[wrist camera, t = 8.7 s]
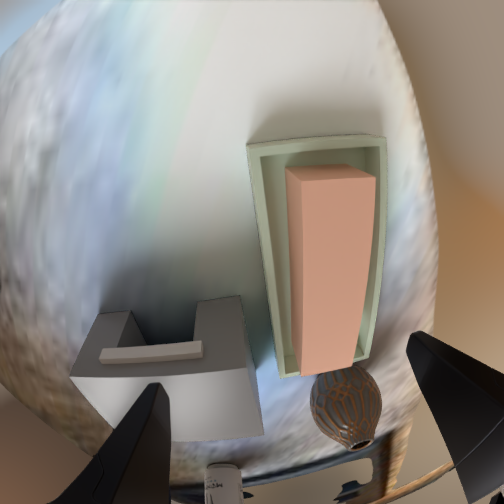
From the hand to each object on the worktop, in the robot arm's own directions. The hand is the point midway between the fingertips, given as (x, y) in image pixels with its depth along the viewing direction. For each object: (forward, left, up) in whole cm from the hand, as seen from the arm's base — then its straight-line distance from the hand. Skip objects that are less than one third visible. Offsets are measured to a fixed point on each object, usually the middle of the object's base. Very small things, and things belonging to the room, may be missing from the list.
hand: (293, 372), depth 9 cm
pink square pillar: (-3, -4, -11) cm, 12 cm away
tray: (-3, -4, -11) cm, 12 cm away
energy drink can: (-40, +11, -12) cm, 43 cm away
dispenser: (-9, +8, -11) cm, 17 cm away
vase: (-17, -6, -12) cm, 21 cm away
